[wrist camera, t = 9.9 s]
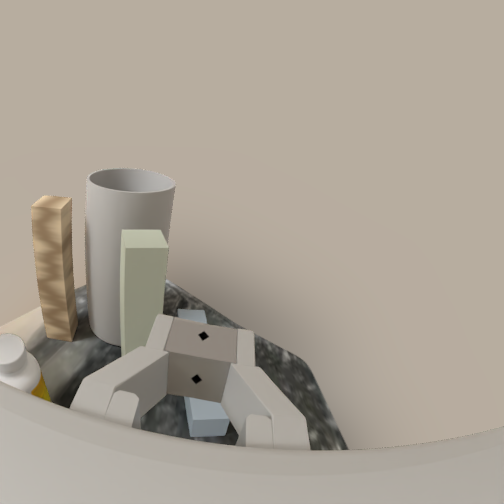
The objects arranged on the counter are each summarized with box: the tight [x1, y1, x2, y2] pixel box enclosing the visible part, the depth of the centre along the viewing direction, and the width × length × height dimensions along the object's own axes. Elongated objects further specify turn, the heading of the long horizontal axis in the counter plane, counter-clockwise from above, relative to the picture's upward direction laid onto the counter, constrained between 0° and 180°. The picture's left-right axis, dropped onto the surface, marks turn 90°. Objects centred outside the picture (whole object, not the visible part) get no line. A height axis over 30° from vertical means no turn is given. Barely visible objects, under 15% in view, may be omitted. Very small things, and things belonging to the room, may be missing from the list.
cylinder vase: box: [85, 168, 176, 346], centre depth 47 cm, size 12×12×25 cm
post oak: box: [31, 195, 78, 342], centre depth 41 cm, size 4×4×22 cm
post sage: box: [120, 229, 169, 356], centre depth 38 cm, size 4×4×22 cm
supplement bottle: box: [0, 333, 52, 402], centre depth 27 cm, size 7×7×13 cm
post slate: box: [177, 309, 230, 437], centre depth 45 cm, size 4×4×22 cm
